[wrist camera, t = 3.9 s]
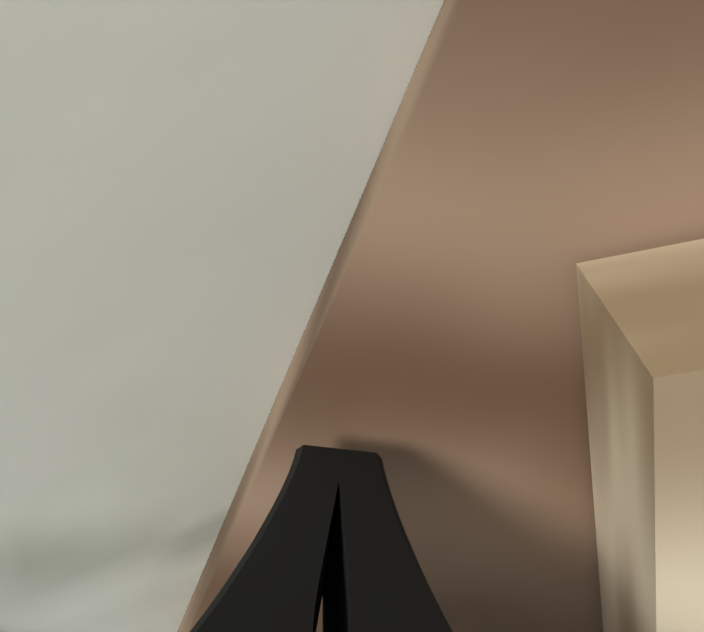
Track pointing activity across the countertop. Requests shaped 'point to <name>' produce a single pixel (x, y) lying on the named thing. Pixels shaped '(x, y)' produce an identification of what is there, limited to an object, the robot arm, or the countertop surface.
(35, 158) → the countertop surface
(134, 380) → the countertop surface
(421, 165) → the wooden board
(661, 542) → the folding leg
